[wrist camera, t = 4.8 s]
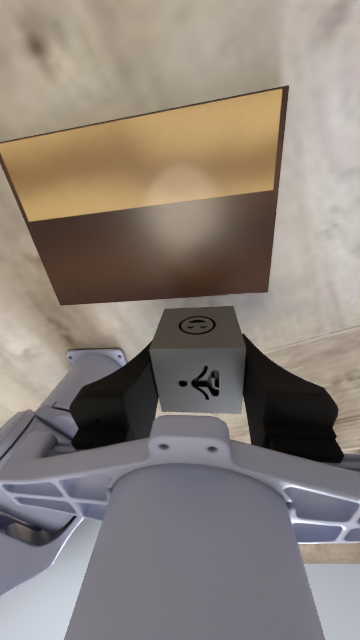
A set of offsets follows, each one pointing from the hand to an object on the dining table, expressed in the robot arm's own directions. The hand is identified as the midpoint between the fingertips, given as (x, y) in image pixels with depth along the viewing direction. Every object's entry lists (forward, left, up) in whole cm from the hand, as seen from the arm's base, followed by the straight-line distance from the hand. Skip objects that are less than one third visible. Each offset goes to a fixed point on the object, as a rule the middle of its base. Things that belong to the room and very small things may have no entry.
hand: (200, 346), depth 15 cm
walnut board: (+8, +5, -8) cm, 13 cm away
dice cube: (0, 0, -2) cm, 2 cm away
